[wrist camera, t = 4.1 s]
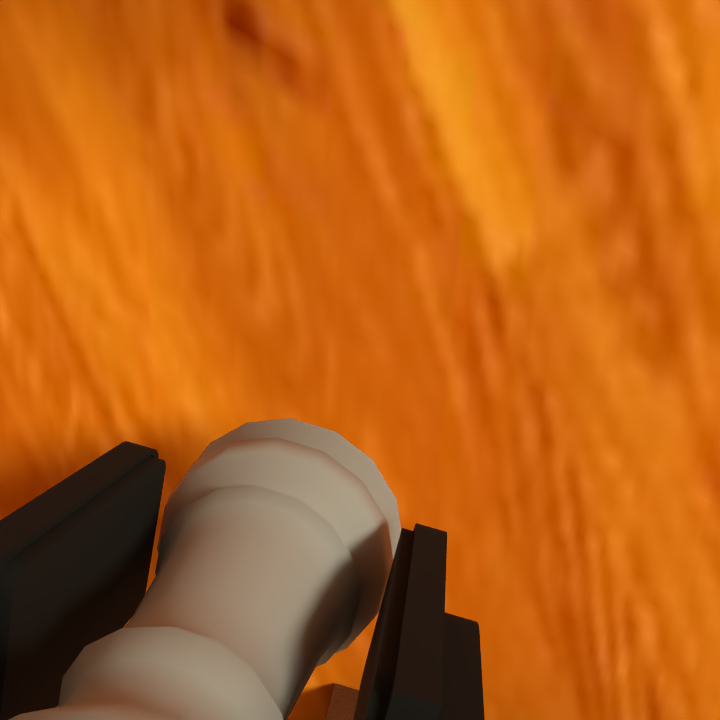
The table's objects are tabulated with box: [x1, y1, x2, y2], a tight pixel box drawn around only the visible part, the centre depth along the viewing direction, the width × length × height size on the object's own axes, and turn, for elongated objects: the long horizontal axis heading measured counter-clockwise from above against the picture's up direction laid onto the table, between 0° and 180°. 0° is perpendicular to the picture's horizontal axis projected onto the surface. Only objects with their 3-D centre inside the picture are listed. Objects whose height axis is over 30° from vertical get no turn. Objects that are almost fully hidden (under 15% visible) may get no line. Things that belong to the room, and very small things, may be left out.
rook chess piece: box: [9, 418, 401, 720], centre depth 8 cm, size 4×4×8 cm
